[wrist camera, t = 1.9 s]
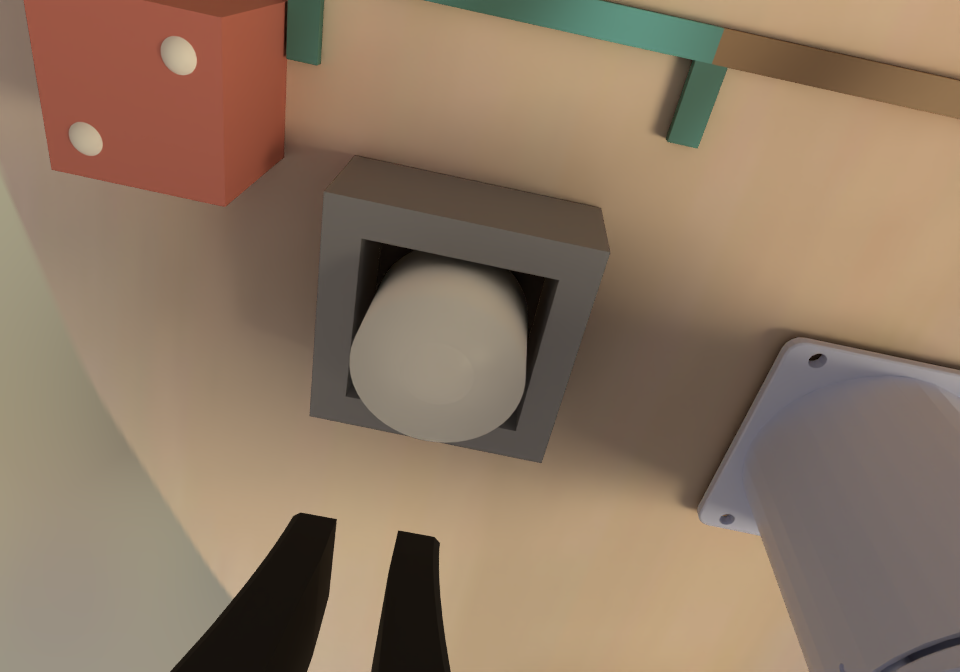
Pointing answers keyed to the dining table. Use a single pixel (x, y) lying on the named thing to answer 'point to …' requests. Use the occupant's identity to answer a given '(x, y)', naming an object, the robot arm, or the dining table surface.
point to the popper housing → (467, 236)
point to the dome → (442, 348)
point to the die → (163, 91)
